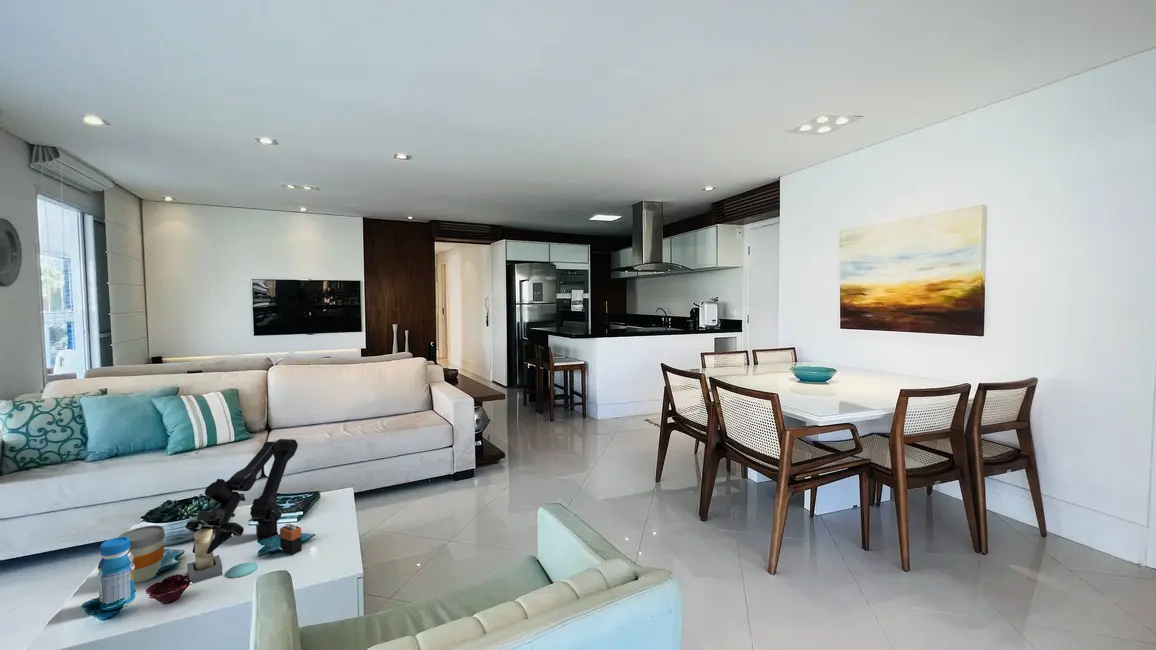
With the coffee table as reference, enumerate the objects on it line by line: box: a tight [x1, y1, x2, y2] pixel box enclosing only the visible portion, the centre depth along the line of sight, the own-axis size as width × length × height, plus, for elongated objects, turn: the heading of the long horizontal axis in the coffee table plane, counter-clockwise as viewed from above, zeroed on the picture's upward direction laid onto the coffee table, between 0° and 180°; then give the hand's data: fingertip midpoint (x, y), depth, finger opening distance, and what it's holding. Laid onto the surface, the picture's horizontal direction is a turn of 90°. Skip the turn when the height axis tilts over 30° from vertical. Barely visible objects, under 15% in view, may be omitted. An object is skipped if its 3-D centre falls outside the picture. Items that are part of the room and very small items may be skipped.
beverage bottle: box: [97, 536, 136, 606], centre depth 153 cm, size 8×8×20 cm
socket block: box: [186, 554, 223, 584], centre depth 170 cm, size 9×9×4 cm
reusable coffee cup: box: [118, 524, 166, 584], centre depth 169 cm, size 13×13×15 cm
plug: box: [193, 528, 214, 570], centre depth 170 cm, size 5×5×15 cm
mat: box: [225, 561, 258, 579], centre depth 172 cm, size 9×9×1 cm
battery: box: [279, 523, 303, 556], centre depth 186 cm, size 4×7×10 cm, turn 63°
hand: (200, 553), depth 169 cm, fingers closed on plug, 5 cm apart
